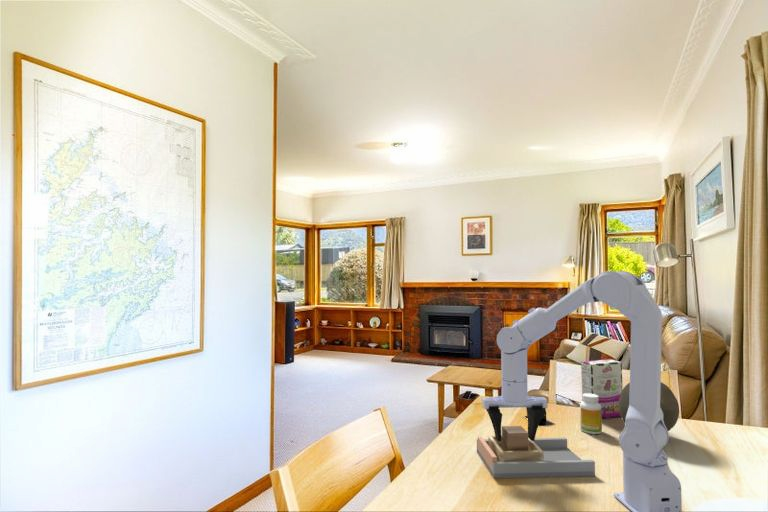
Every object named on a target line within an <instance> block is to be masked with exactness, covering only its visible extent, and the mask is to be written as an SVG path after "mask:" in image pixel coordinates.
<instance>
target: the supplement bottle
mask: <svg viewBox="0 0 768 512" xmlns="http://www.w3.org/2000/svg"><path fill="white" fill-rule="evenodd" d="M581 398H583V400H584V401H583V402H582V401H581V402H580V404H579V424H580V425H579V426H580V431H582V432H583V433H586V434H590V435H598V434H599V435H600V434H601V433H602V432H603V427H602V426H603V425H602V424H603V421H602V420H603V419H602V408H601V405H600V404H599V403H598V400H599V398H598V395H595V394H590V393H585V394H583V397H581Z"/></svg>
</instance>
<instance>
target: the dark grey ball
mask: <svg viewBox="0 0 768 512" xmlns="http://www.w3.org/2000/svg"><path fill="white" fill-rule="evenodd" d="M622 389H623V390H622V392H621V394H620V397H619V411H620V414H621V417H620V418H621V419H622V421H623V423H624V424H625V418H626V415H627V411H628V408H629V395H630V382H629V383H627V384H626V385H625V386H624V387H622ZM660 408H661V410H662V412H663V421H664V424H665V426H666V428H667V430H668V432H669V431H671V430H672V429H673V428H674V427H675V426H676V424H677V423H678V420H679V416H680V406H679V401H678V399H677V397H676V395H675V394H674V393H673V391H672V390H671V388H670V387H669V386H668V385H667V384H665V383H664V382H662V381H661V388H660Z"/></svg>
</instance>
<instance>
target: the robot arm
mask: <svg viewBox="0 0 768 512" xmlns="http://www.w3.org/2000/svg"><path fill="white" fill-rule="evenodd" d="M599 302H601V303H603V304H605V305H607V306H609V307H611V308H613V309H614V310H615V309H616V310H618V312H619V313H620V314H622V316H624V317H625V318H626V319H627V320H628V321H629V322H630V351H629V352H630V356H629V357H630V358H629V359H630V360H629V383H630V395H629V408H628V411H627V415H626V418H625V423H624V428H623V430H622V431H621V432H620V434H619V439H618V440H619V441H618V442H619V446H620V449H621V451H622V466H623V467H622V471H623V472H622V475H623V476H622V477H623V478H622V480H623V481H622V483H623V487H622V488H623V490H622V491H623V492H621V491H619V492H613V497H615V499H617V500H618V501H619V502H620V503H621V504H623V505H624V506H625V507H626V508H627V509H628V510H629V511H631V512H683V508H682V507H683V506H682V505H683V504H682V503H683V501H682V485H681V481H680V479H679V478H678V477H677V475H676V474H674V473H673V471H672V470H671V469H670V467H669V463H668V459H669V458H668V457H667V455H666V453H665V451H664V450H663V448H664V447H665V446H666V445H667V444H668V442H669V439H670V435H669V431H668V430H667V428H666V426H665V424H664V421H663V412H662V410H661V408H660V388H661V382H662V381H661V380H662V376H661V375H662V374H661V373H662V340H663V339H662V330H663V329H662V328H663V314H662V310H661V309H660V306H659V304H658V303H657V302H656V301H655V299H654V298H653V296H652V295H651V292H649V290H648V288H647V286H646V283H645V282H644V281H643V280H642V279H640V278H639V277H637V275H635V274H634V273H631V272H630V271H626V270H619V271H614V270H613V271H612V270H605V271H603V272H600V273H599V274H598V275H596V276H595V277H591V278H589V279H587V280H585V281H584V282H583V283H581V284H579V285H578V286H576V288H574V289H573V290H571V291H570V292H568V293H567V294H566V295H564V296H563V297H561V298H560V299H559V300H556V301H555V302H554V303H553V304H552V305H550V306H549V307H548V308H544V307H537V308H535V307H532V308H530V309H528V311H527V312H528V314H526V315H525V316H524V317H522V318H521V319H519V320H518V319H515V320H514V321H512V326H505V327H501V330H499V332H498V333H497V335H496V345H497V346H498V349H499V350H500V351H501V353H500V357H501V358H500V359H501V360H500V361H501V362H500V363H501V364H500V366H501V367H500V368H501V371H500V374H501V376H500V378H501V395H499V396H491V397H481V405H482V408H483V409H484V410H486V412H487V414H488V415H489V419H490V421H491V424H492V427H493V428H492V429H493V431H494V436H495V438H496V440H497V441H501V436H502V421H503V413H502V412H501V408H502V409H504V408H510V409H511V408H526V415H527V417H528V420H527V432H528V438H529V439H530V440H531V441H534V440H535V438H536V435H537V431H538V427H540V426H539V423H540V421H541V419H542V418H543V416H544V414H545V411H544V410H543V409H542V408H546V409H547V408H548V398H546V397H544V396H532V395H531V396H529V395H528V392H529V391H528V349H529V348H530V347H531V346H532V344H534V343H536V342H537V341H539V340H540V339H542V338H543V337H545V336H548V334H550V333H551V332H553V331H555V329H556V327H557V323H558V321H559V320H561V319H564V318H565V317H566V316H568V315H570V314H571V313H573V312H575V311H576V310H579V309H580V308H582V307H583V306H585V305H587V304H589V303H590V304H591V303H599Z"/></svg>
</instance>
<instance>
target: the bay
mask: <svg viewBox="0 0 768 512" xmlns="http://www.w3.org/2000/svg"><path fill="white" fill-rule="evenodd" d="M533 442H534V443H535V444H536V445H537V446H538V447H539V448H540V449H541V450H542V451H543V452H544V461H511V462H497V457H496V455H495V454H494V453H493V451H492V450H491V448H490V447H489V446H488V438H484V437H483V436H477V438H476V453H477V455H478V456H479V458H480V459H481V461H482V462H483V464H484V465H485V467H486V469H487V470H488V472H489V473H490V474H491V476H492V478H493V479H524V478H526V479H527V478H529V479H530V478H560V477H561V478H563V477H564V478H565V477H567V478H568V477H570V478H571V477H595V476H596V461H595V460H594V459H581V457H579V455H577V454H576V453H574V452H573V451H572V450H571V449H570V448H568V438H566V437H535V440H534V441H533Z"/></svg>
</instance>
